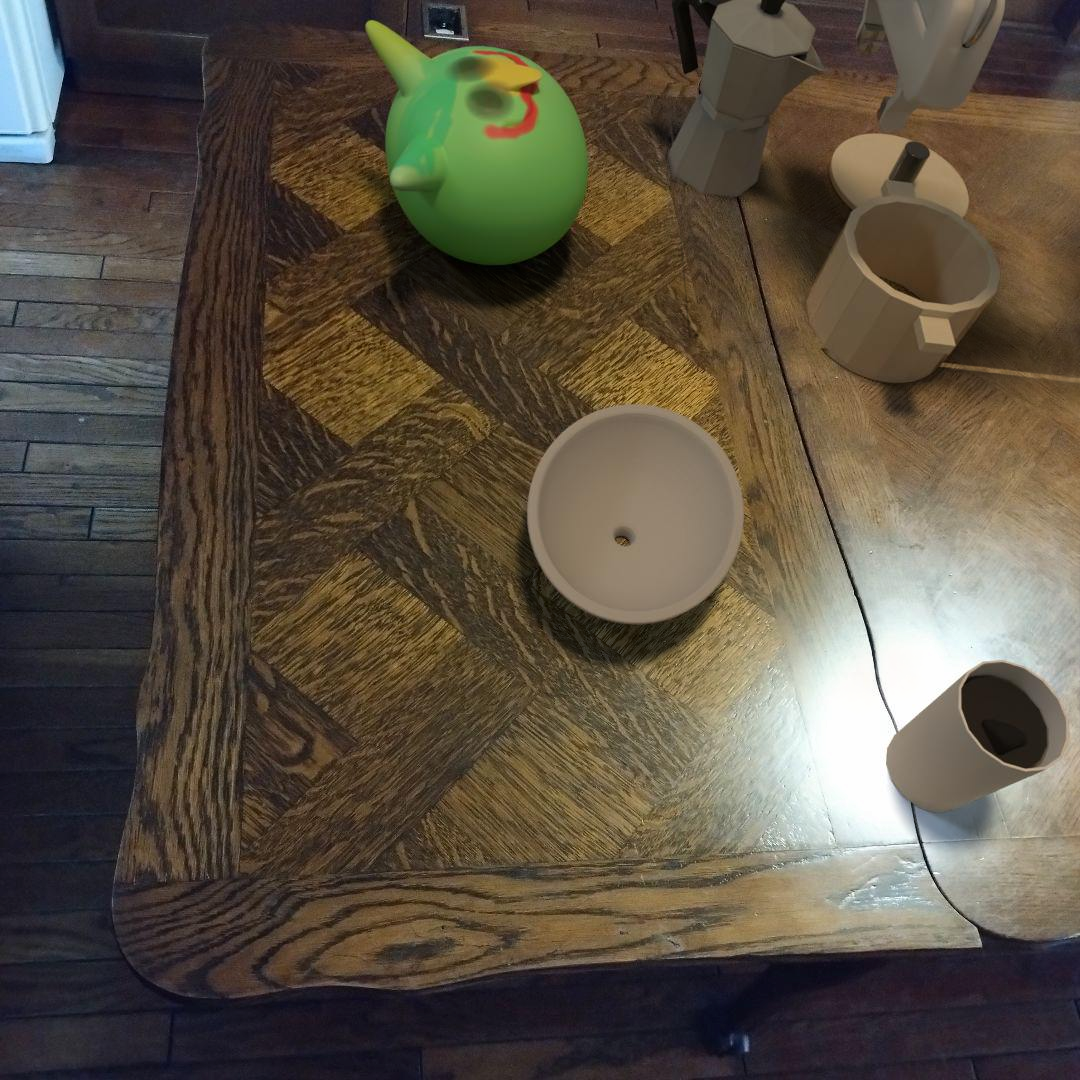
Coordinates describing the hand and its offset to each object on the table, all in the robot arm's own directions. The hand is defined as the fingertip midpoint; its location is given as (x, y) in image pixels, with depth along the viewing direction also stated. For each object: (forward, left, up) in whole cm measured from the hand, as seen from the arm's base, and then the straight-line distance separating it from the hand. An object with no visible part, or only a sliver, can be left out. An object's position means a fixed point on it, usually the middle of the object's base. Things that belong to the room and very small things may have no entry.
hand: (876, 85), depth 75 cm
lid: (-11, -9, -15) cm, 21 cm away
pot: (-6, +9, -16) cm, 19 cm away
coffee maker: (+8, -9, -16) cm, 20 cm away
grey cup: (-3, +48, -16) cm, 50 cm away
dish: (+17, +33, -16) cm, 40 cm away
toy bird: (+29, +3, -16) cm, 33 cm away
